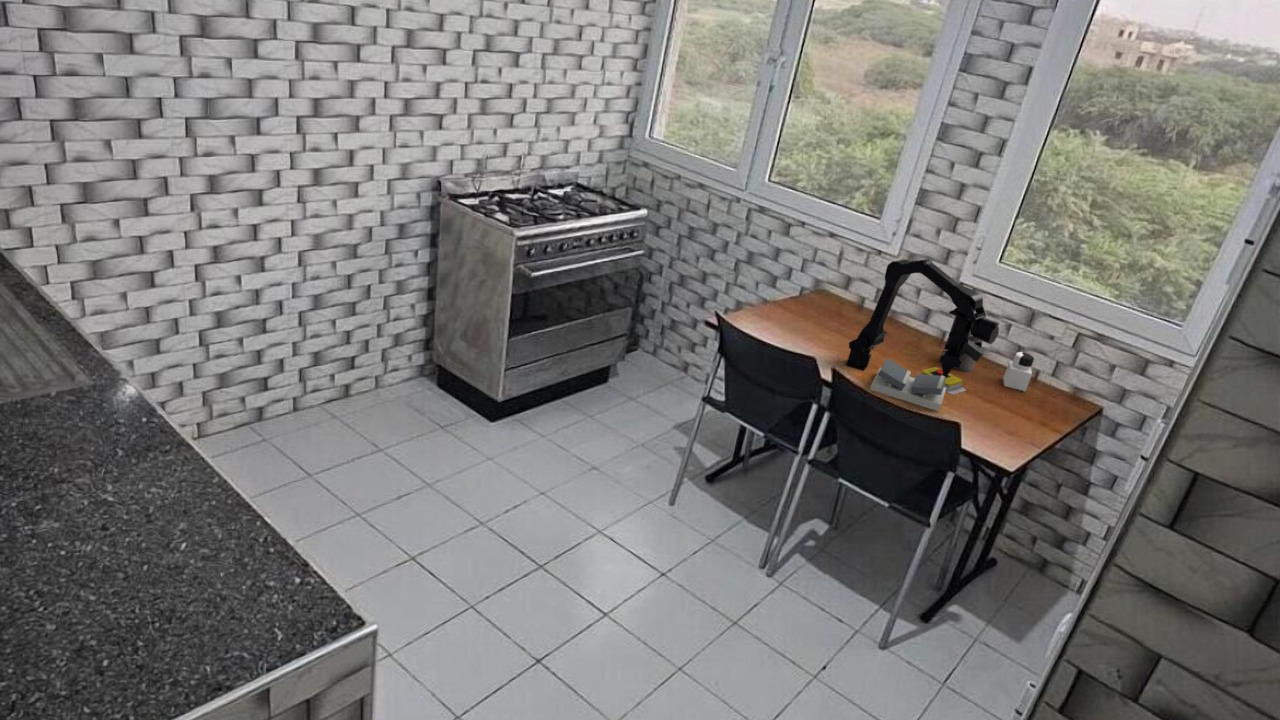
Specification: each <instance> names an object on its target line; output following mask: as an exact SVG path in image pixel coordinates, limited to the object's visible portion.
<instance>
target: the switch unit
mask: <svg viewBox="0 0 1280 720" xmlns="http://www.w3.org/2000/svg"><path fill="white" fill-rule="evenodd" d="M881 368H882V367H879V369H878V371H877V373H876V374H875V377H874V379H873V380H872V382H871V386H870V388H869V390H870V391H873V392H876V393H880V394H882V395H886V396H889V397H892V398H896V399H898V400H902V401H904V402H908V403H912V404H915V405H917V406H921V407H924V408H926V409H930V410H932V411H937V412H939V411H940V409H941V406H942V403H943V401H944V397H945V394H946V392H945V391H946V388H945V387H944V388H943V391H942V394H941V395H935V394H922V393H911V387H912V384H913V382H914V380H915V377H912V376H910V377H909V379H908V381H907V384H906V386H905V387H904V389H903V390H902V389H900V388H898V387H897V386H895V385H893V384H892V383H890V382H888V381H887V380H885V379H884V378H882V377H880V376H879V375H878V373H879V371H880V370H881Z"/></svg>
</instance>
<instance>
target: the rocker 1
mask: <svg viewBox="0 0 1280 720" xmlns="http://www.w3.org/2000/svg"><path fill="white" fill-rule="evenodd" d="M880 368H881V370H880V371H879V370H878V371H879V373H878V372H877V373H878V375H879V376H880V377H882V378H884V379H885V380H887V381H888V382H890V383H892V384H893V385H895V386H897V387H898V388H900V389H902V390H903V389H904V387H905V386H906V384H907V381H908V379H909V377H911V374H912V372H911V371H910V370H908V369H907V368H904V367H902V366H901V365H900V364H898V363H897V362H894V361H893V360H892V359H889V358H888V357H887V358H886V359H885V360H884V362H883V364H882V366H881V367H880Z"/></svg>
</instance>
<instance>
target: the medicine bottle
mask: <svg viewBox="0 0 1280 720" xmlns="http://www.w3.org/2000/svg"><path fill="white" fill-rule="evenodd" d="M1034 360H1035V358H1034V356H1033V355H1031V354H1030V353H1027V352H1024V351H1018V352H1016V353H1015V355H1014V358H1013V360H1012V361H1008V365H1007V367H1006V370H1005V373H1004V375H1003V380H1002V381H1003V386H1004V387H1007V388H1010V389H1014V390H1017V389H1018V390H1017V391H1021V390H1022V391H1021V392H1026V391H1027V388H1028V386H1029V384H1030V380H1031V378H1032V376H1033V372H1032V366H1033V363H1034Z"/></svg>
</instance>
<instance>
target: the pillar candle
mask: <svg viewBox="0 0 1280 720" xmlns="http://www.w3.org/2000/svg"><path fill="white" fill-rule="evenodd" d="M969 336H970V338H969V340H970V341H971V342H976V341H978V340H979V339H977V338H974V337H973V336H972V335H971V332H970V335H969ZM979 341H980V342H982V344H984V341H981V340H979ZM959 354H960V353H959ZM960 355H961V354H960ZM961 356H962V361H961V364H960V367H959V368H957V367H954V366H953V368H952V369H954V370H956V371H960V372H965V373H970V372H972V371H973V370H974V368H975V364H976V363H977V362H976V361H974V360H973V359H972V358H971V357H969V356H968V355H966V354H965V353H964V355H961Z"/></svg>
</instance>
